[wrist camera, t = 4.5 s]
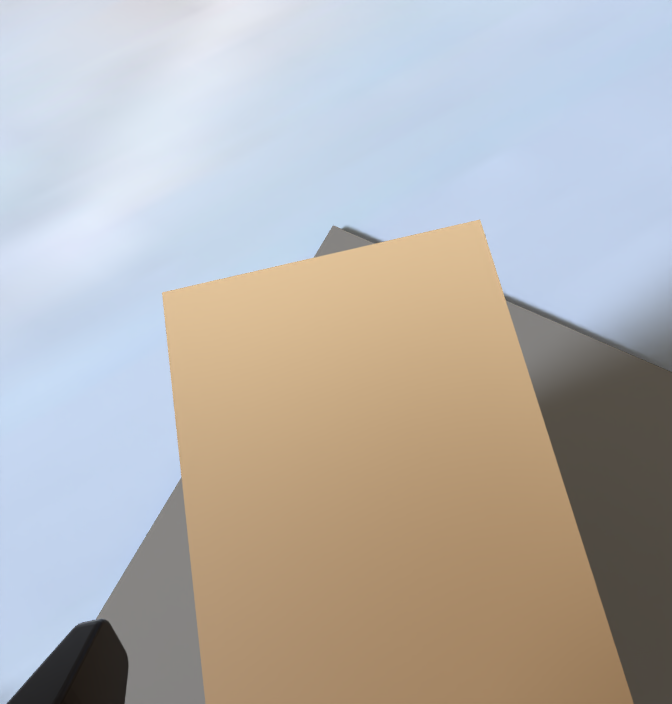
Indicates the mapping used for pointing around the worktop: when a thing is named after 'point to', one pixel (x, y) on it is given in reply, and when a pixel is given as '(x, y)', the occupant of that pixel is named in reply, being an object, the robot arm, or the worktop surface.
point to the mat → (580, 483)
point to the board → (378, 488)
